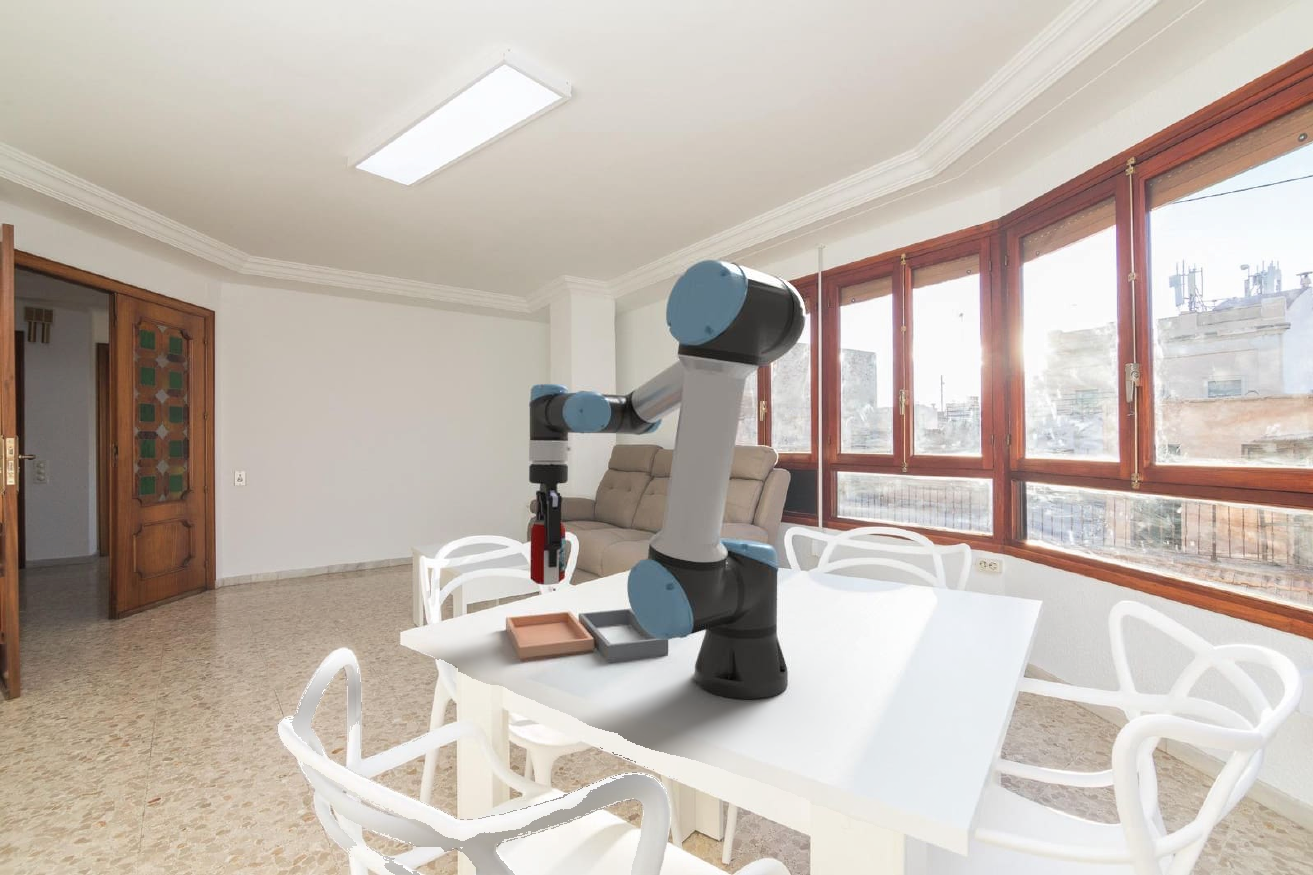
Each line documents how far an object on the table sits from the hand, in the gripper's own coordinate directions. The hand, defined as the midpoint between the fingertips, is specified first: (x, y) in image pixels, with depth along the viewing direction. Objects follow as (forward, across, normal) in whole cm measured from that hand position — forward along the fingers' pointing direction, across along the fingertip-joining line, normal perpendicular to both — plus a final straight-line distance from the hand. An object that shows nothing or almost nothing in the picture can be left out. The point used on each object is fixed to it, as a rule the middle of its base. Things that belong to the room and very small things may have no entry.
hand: (547, 579), depth 119 cm
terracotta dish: (+12, 0, 0) cm, 12 cm away
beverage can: (+1, 0, 0) cm, 1 cm away
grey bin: (+12, -5, -14) cm, 19 cm away
